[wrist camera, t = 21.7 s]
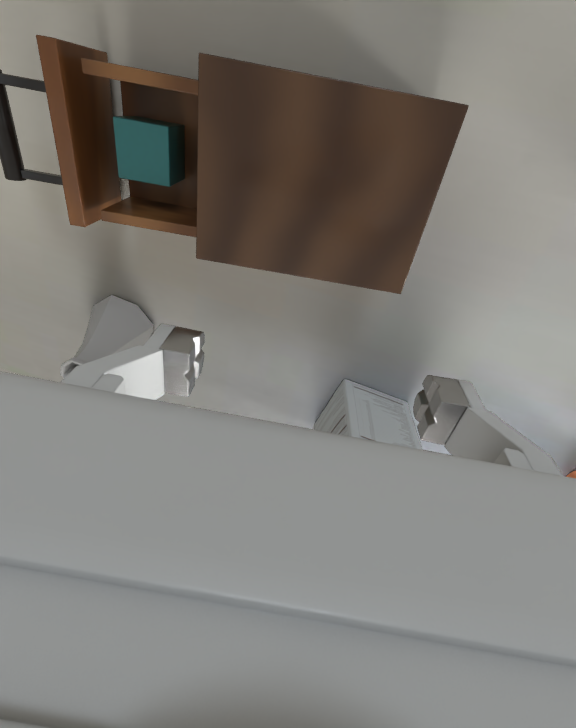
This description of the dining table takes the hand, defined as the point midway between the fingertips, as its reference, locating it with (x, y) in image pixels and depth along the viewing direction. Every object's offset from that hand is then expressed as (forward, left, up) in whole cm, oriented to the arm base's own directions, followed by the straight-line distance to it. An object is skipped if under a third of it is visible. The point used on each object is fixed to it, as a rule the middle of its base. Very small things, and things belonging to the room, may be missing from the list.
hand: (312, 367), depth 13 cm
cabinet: (-2, -3, -26) cm, 26 cm away
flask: (+25, -3, -26) cm, 36 cm away
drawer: (+8, -12, -25) cm, 29 cm away
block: (+8, -12, -24) cm, 27 cm away
